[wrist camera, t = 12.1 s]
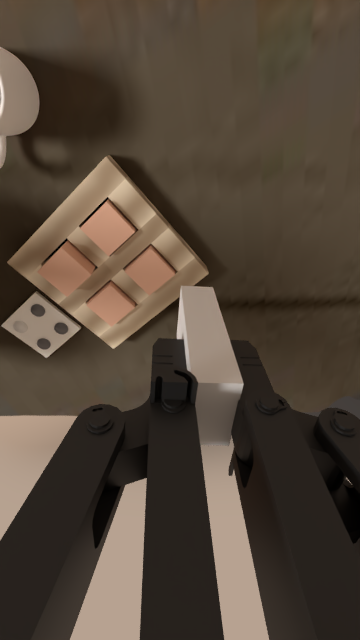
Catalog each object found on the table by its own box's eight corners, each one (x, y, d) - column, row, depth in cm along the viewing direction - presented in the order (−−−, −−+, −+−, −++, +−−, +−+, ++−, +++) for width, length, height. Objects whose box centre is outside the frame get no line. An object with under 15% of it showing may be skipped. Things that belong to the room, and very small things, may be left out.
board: (15, 255, 46) (6, 262, 44) (109, 154, 40) (106, 156, 38) (115, 338, 55) (113, 348, 52) (206, 265, 48) (208, 273, 46)
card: (2, 323, 52) (0, 326, 51) (36, 290, 49) (34, 293, 49) (47, 355, 56) (46, 358, 55) (81, 326, 53) (80, 329, 52)
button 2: (91, 294, 50) (86, 305, 46) (113, 275, 48) (109, 284, 45) (114, 315, 52) (111, 326, 49) (136, 296, 50) (134, 307, 47)
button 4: (127, 262, 47) (124, 271, 44) (151, 240, 46) (150, 248, 43) (150, 285, 49) (149, 295, 46) (174, 265, 48) (175, 274, 45)
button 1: (45, 262, 45) (37, 272, 42) (68, 239, 43) (61, 247, 40) (73, 286, 47) (67, 297, 44) (96, 265, 45) (91, 274, 42)
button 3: (85, 221, 44) (79, 228, 41) (110, 196, 42) (106, 201, 39) (112, 247, 46) (108, 256, 43) (136, 224, 44) (134, 231, 41)
